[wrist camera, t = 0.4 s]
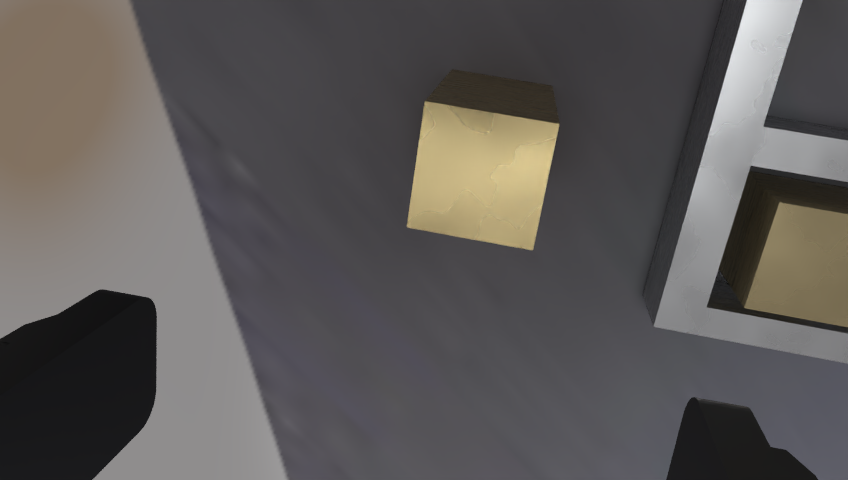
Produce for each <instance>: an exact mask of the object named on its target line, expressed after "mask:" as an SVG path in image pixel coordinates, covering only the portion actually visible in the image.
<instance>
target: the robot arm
mask: <svg viewBox="0 0 848 480" xmlns="http://www.w3.org/2000/svg"><path fill="white" fill-rule="evenodd" d="M156 318H157V316H156V308H155V305H154V303H153V301H152V300H151V299H150V298H147V297H142V296H136V295H131V294H125V293H120V292H114V291H108V290H98V291H96V292H94V293H92V294H91V295H89V296H87V297H86V298H84V299H82V300H81V301H79V302H78V303H76V304H74V305H73V306H71V307H69V308H68V309H66V310H64V311H63V312H61V313H59V314H57V315H54V316H51V317H48V318H45V319H41V320H38V321H35V322H32V323H29V324H25V325H23V326H22V327H20V328H18V329H17V330H15V331H13V332H11V333H10V334H8V335H6V336H5V337H3V338H1V339H0V480H92V479H93V478H94V477H95V476H96V475H97V474H98V473H99V472H100V471H101V470H102V469H103V468H104V467H105V466H106V465H107V464H108V463H109V462H110V461H111V460H112V459H113V458H114V457H115V456H116V455H117V454H118V453H119V452H120V451H121V450H122V449H123V448H124V447H125V446H126V445H127V444H128V443H129V442H130V441H131V440H132V439H133V438H134V437H135V436H136V435H137V434H138V433H139V432H140V431H141V429H142V428H143V427H144V425H145V424H146V422H147V420H148V418H149V416H150V414H151V411H152V408H153V405H154V401H155V395H156V332H157V331H156V329H157V328H156V327H157V323H156V322H157V319H156ZM666 480H818V479H817V477H816V476H815V475H814V474H813V473H812V472H811V471H809V470H808V469H807V468H806V467H805V466H804V465H803V464H801V463H800V462H799V461H798V460H797V459H796V458H795V457H793V456H792V455H791V454H790V453H789V452H788V451H787V450H783V449H778V448H773V447H770V445H769V443H768V441H767V440H766V438H765V436H764V434H763V432H762V430H761V428H760V426H759V424H758V422H757V420H756V418H755V417H754V415H753V413H752V411H751V410H750V408H748V407H745V406H739V405H733V404H728V403H722V402H717V401H711V400H706V399H700V398H695V397H693V398H691V399H690V400H689V402H688V403H687V406H686V408H685V411H684V414H683V418H682V422H681V426H680V429H679V433H678V437H677V441H676V445H675V449H674V452H673V456H672V460H671V464H670V468H669V472H668V476H667V479H666Z"/></svg>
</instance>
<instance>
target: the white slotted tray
mask: <svg viewBox="0 0 848 480" xmlns="http://www.w3.org/2000/svg"><path fill="white" fill-rule="evenodd" d="M801 3H802V0H724V2H723V5H722V9H721V13H720V16H719V20H718V24H717V27H716V31H715V34H714V38H713V42H712V45H711V49H710V53H709V56H708V60H707V63H706V67H705V71H704V74H703V78H702V82H701V85H700V89H699V92H698V96H697V100H696V103H695V107H694V111H693V114H692V118H691V121H690V125H689V129H688V132H687V136H686V140H685V143H684V147H683V150H682V154H681V158H680V161H679V165H678V169H677V172H676V176H675V179H674V183H673V187H672V190H671V194H670V197H669V201H668V205H667V208H666V212H665V216H664V219H663V223H662V226H661V230H660V234H659V237H658V241H657V245H656V248H655V252H654V255H653V259H652V263H651V266H650V270H649V274H648V277H647V281H646V284H645V288H644V292H643V298H644V301H645V304H646V307H647V309H648V312H649V315H650V318H651V321H652V324H653V327H658V328H663V329H668V330H674V331H679V332H684V333H690V334H695V335H700V336H705V337H711V338H716V339H721V340H727V341H732V342H737V343H742V344H748V345H753V346H758V347H764V348H769V349H774V350H779V351H785V352H790V353H795V354H800V355H806V356H811V357H816V358H822V359H827V360H832V361H837V362H843V363H848V188H845V187H839V186H834V185H828V184H822V183H816V182H810V181H804V180H798V179H793V178H787V177H781V176H775V175H769V174H763V173H757V172H752V171H749V170H750V167H751V166H756V167H762V168H768V169H774V170H780V171H786V172H792V173H798V174H803V175H809V176H815V177H821V178H827V179H833V180H839V181H845V182H848V129H842V128H836V127H830V126H824V125H818V124H812V123H806V122H800V121H793V120H787V119H781V118H775V117H769V116H766V115H767V112H768V109H769V106H770V103H771V99H772V96H773V93H774V90H775V87H776V83H777V80H778V77H779V74H780V71H781V67H782V64H783V61H784V58H785V55H786V51H787V48H788V45H789V42H790V39H791V35H792V32H793V29H794V26H795V23H796V19H797V16H798V13H799V10H800V7H801ZM718 269H719V270H720V271H721V273H722V274H723V276H724V277H725V279H726V280H727V282H728V284H726V283H720V282H715V279H716V275H717V272H718Z"/></svg>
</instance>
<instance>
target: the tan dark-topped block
mask: <svg viewBox="0 0 848 480" xmlns="http://www.w3.org/2000/svg"><path fill="white" fill-rule="evenodd" d="M558 129H559V119H558V113H557V108H556V103H555V97H554V92H553V87H552V86H549V85H543V84H537V83H531V82H525V81H519V80H513V79H507V78H501V77H495V76H489V75H483V74H477V73H471V72H464V71H458V70H451V72H450V73H449V74H448V75H447V76H446V77H445V79H444V80H443V81H442V82H441V83H440V84H439V85H438V87H437V88H436V89H435V90H434V91H433V92H432V94H431V95H430V96H429V97H428V98H427V99H426V101H425V104H424V111H423V118H422V125H421V132H420V139H419V145H418V152H417V159H416V166H415V173H414V180H413V187H412V194H411V201H410V208H409V215H408V222H407V227H408V228H413V229H419V230H424V231H429V232H435V233H440V234H446V235H451V236H457V237H462V238H468V239H473V240H479V241H484V242H489V243H495V244H500V245H506V246H511V247H517V248H522V249H528V250H533V247H534V243H535V238H536V233H537V228H538V224H539V219H540V214H541V209H542V205H543V200H544V195H545V190H546V186H547V181H548V176H549V172H550V167H551V162H552V157H553V153H554V148H555V143H556V138H557V134H558Z"/></svg>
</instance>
